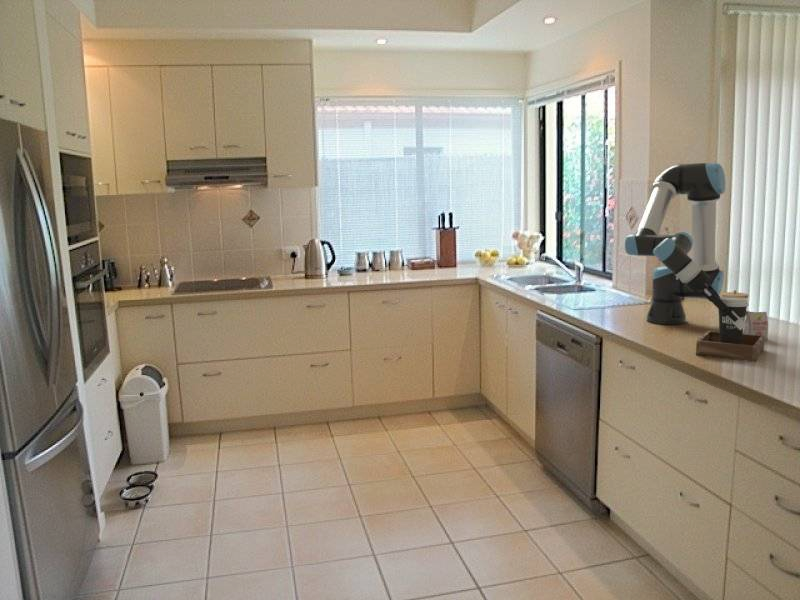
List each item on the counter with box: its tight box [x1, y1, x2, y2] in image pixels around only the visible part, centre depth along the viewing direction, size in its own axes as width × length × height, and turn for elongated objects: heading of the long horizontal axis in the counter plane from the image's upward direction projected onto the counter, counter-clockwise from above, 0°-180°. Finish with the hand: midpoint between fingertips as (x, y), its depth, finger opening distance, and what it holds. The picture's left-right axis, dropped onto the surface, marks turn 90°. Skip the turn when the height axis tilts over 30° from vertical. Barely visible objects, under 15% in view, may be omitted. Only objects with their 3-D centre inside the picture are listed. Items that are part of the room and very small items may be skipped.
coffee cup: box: [718, 296, 749, 344], centre depth 232 cm, size 10×10×15 cm
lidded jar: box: [720, 289, 749, 303], centre depth 303 cm, size 11×11×9 cm
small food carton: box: [743, 311, 769, 341], centre depth 252 cm, size 4×7×10 cm, turn 90°
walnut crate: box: [695, 330, 765, 363], centre depth 233 cm, size 18×18×5 cm
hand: (741, 324), depth 231 cm, fingers closed on coffee cup, 9 cm apart
